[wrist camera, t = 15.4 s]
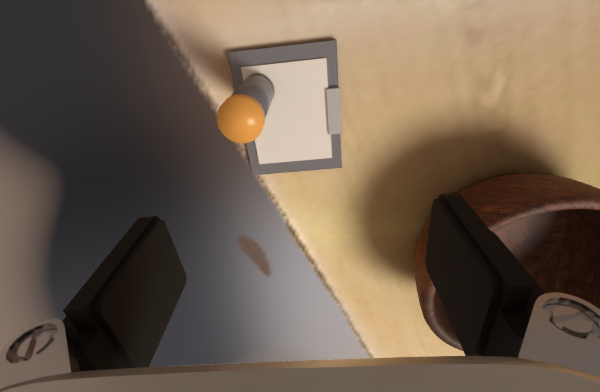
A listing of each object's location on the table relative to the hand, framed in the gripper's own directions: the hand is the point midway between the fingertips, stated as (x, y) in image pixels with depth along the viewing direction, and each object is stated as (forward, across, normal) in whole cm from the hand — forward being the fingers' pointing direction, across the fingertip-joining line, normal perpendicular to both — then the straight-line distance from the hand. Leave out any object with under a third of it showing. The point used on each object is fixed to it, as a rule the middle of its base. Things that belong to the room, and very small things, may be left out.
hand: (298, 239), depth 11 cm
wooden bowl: (+27, -24, +23) cm, 43 cm away
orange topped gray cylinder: (+26, +5, 0) cm, 26 cm away
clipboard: (+26, +2, +3) cm, 27 cm away
